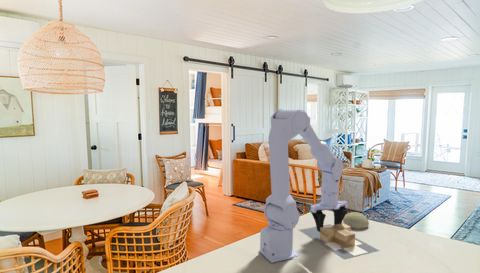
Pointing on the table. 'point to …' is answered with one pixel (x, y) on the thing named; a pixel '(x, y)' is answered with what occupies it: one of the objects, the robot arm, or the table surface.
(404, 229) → the table surface
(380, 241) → the table surface
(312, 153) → the robot arm
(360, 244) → the T board
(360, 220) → the sea urchin shell
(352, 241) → the T block
